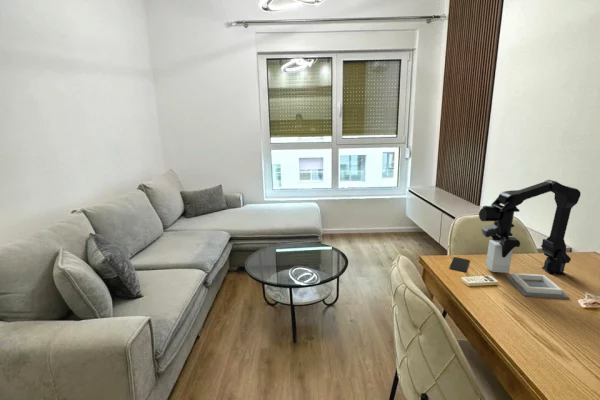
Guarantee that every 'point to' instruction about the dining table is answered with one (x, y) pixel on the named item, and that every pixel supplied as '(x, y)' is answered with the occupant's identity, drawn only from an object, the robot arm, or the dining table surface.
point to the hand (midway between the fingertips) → (499, 253)
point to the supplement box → (497, 258)
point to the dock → (536, 286)
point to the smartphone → (459, 264)
